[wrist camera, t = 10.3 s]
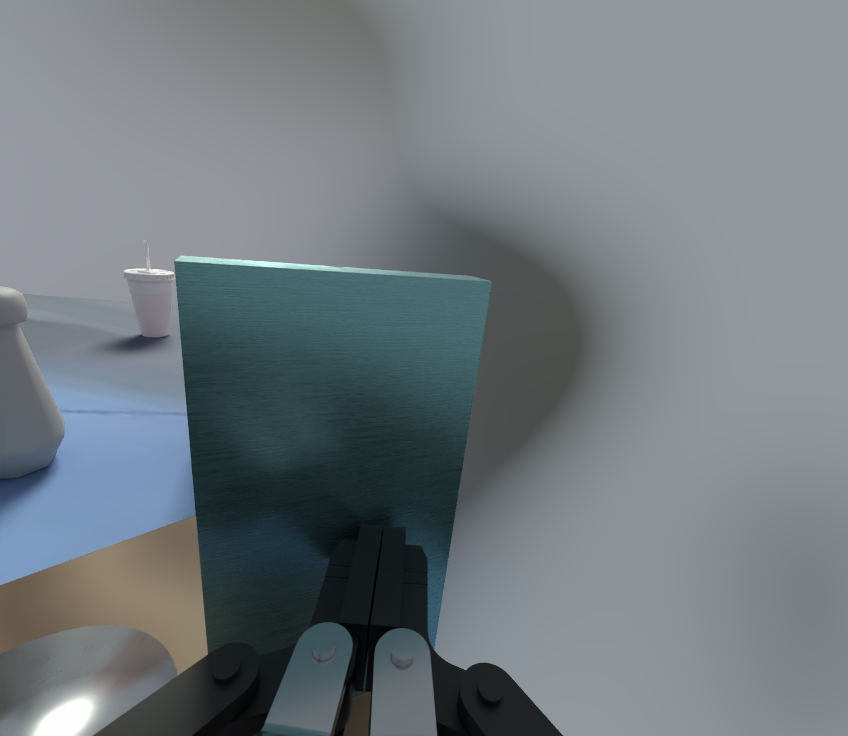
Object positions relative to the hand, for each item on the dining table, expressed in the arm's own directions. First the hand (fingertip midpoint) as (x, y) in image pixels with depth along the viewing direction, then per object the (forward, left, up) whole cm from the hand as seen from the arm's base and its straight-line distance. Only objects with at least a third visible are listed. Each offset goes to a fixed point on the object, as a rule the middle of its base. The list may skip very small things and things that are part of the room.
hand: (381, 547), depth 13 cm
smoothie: (+7, +64, -10) cm, 65 cm away
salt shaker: (-9, +30, -10) cm, 33 cm away
